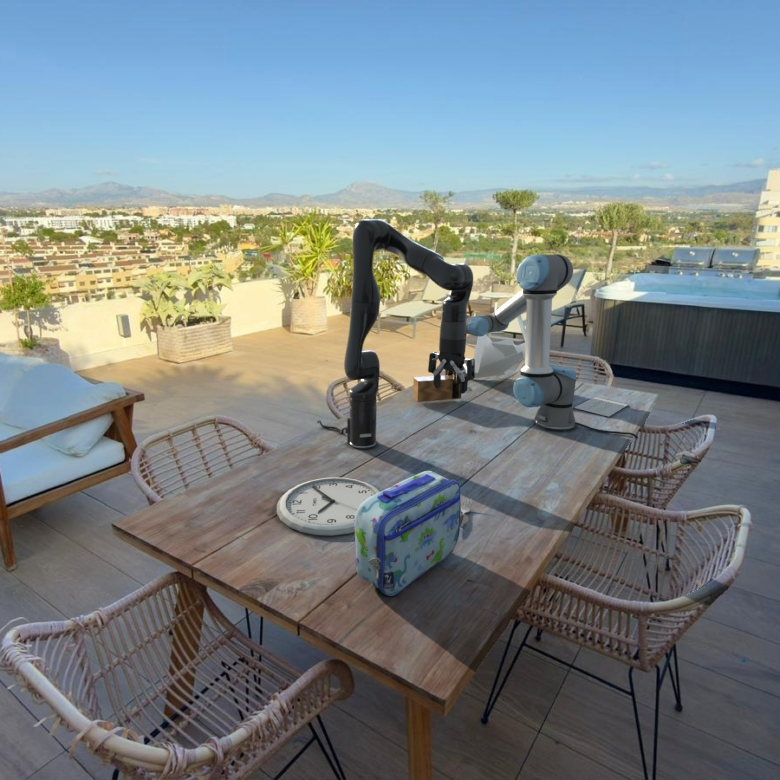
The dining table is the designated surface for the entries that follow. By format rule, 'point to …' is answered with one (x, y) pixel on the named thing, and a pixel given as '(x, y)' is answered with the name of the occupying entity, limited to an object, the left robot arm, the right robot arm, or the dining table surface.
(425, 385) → the box
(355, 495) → the wall clock
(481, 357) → the white plastic object
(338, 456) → the dining table surface
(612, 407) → the invitation card
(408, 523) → the lunch box
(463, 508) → the fork
